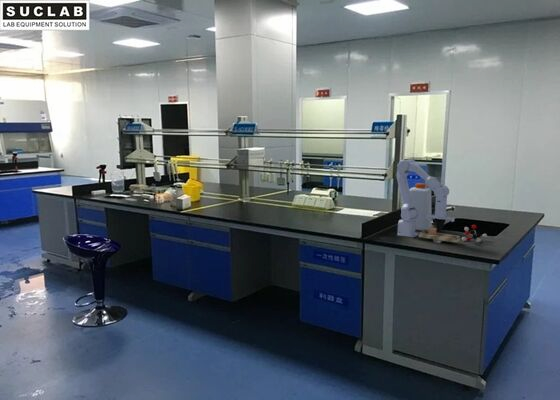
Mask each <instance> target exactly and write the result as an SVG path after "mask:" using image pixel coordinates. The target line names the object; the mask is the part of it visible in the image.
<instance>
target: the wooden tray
mask: <svg viewBox="0 0 560 400" xmlns="http://www.w3.org/2000/svg"><path fill="white" fill-rule="evenodd" d="M428 233H429V230H428V231H427V230H422V231H419V233H418V237H419V238H423V239H430V240H433V243H435V242H436V243H437V244H441V243H442V242H450V243H457V242H459V241H460V235H454V234H448V233H442V232H441V233H438V235H435V234H428Z"/></svg>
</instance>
